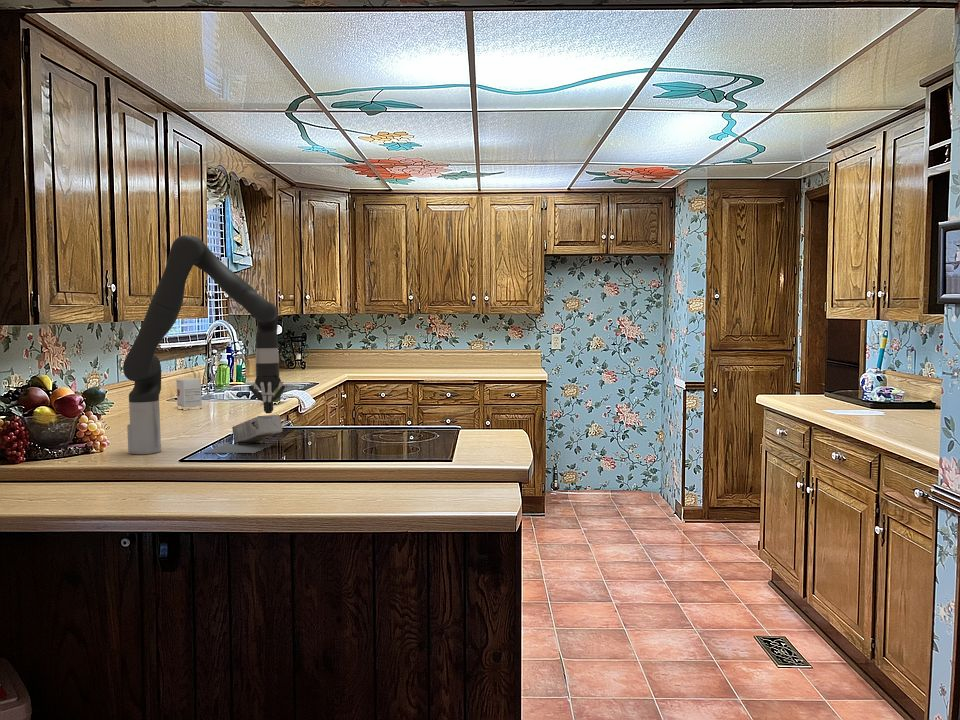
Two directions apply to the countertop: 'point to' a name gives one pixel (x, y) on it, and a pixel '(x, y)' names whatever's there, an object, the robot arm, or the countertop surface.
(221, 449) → the mat
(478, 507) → the countertop surface
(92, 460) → the countertop surface
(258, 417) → the coffee box
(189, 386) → the supplement box
